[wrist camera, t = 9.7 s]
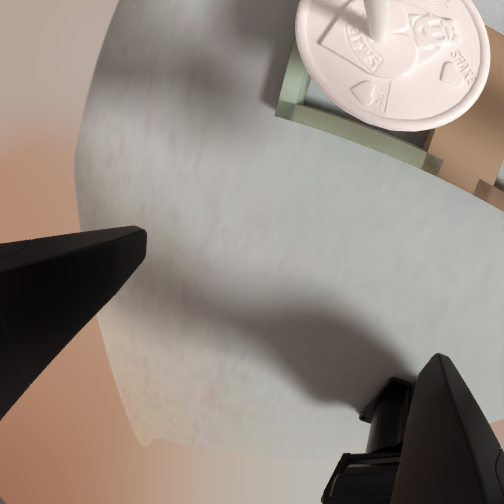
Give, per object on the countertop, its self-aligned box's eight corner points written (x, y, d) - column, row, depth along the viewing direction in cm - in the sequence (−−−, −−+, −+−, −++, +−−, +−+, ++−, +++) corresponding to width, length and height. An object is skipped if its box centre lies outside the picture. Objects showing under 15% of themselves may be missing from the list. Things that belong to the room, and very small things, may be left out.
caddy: (563, 246, 14) (574, 258, 12) (284, 114, 19) (274, 115, 17) (605, 126, 9) (620, 130, 8) (320, -21, 14) (313, -33, 12)
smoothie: (322, 28, 15) (206, -88, 4) (425, 16, 13) (481, -119, 1) (347, 127, 18) (276, 171, 6) (449, 118, 15) (580, 151, 3)
